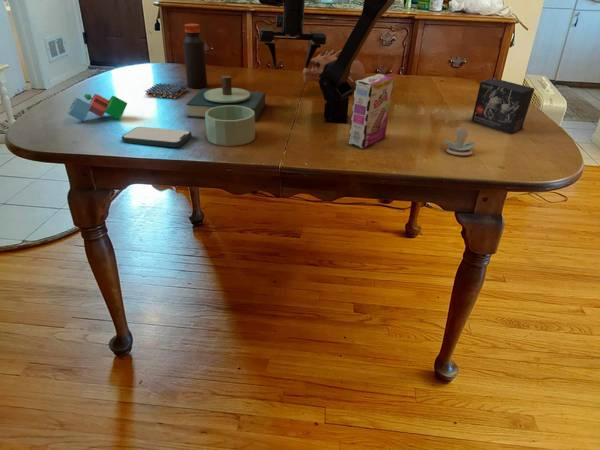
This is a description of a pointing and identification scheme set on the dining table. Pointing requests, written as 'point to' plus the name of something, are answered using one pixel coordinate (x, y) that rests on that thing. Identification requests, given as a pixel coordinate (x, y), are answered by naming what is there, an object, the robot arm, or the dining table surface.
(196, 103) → the book
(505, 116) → the small box
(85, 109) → the building blocks
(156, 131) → the smartphone
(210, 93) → the cover
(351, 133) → the candy bar box
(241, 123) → the dish
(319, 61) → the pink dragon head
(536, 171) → the dining table surface
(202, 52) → the bottle
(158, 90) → the woven mat
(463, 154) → the pacifier
